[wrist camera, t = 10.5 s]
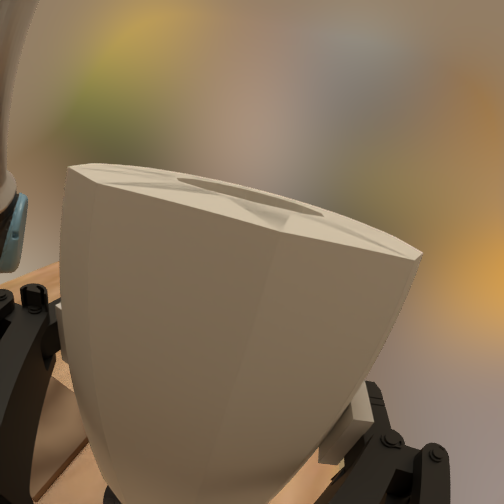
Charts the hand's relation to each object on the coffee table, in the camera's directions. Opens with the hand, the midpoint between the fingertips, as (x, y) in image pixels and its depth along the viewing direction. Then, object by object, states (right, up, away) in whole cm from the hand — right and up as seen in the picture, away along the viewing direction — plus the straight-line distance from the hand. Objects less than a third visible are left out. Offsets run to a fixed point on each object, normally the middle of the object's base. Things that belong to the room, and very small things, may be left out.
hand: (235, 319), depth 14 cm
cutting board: (-26, -16, +4) cm, 31 cm away
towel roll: (-3, -9, -2) cm, 10 cm away
